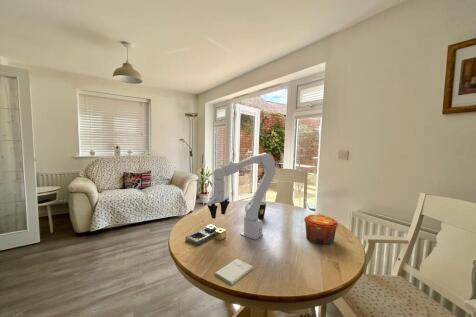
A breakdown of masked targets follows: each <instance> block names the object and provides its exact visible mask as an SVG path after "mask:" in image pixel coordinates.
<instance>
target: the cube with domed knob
mask: <svg viewBox="0 0 476 317" xmlns="http://www.w3.org/2000/svg"><path fill="white" fill-rule="evenodd" d="M216 227H217V226H216V225H214V224H209V225H206V226H205V227H204V228H205V231H206V232H209V233H213V232H215V230H216Z"/></svg>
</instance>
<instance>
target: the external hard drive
mask: <svg viewBox="0 0 476 317" xmlns="http://www.w3.org/2000/svg"><path fill="white" fill-rule="evenodd" d="M253 269H254V266H253V265H251V264H249V263H247V262H245V261H243V260H241V259H238V258H235V259H234V260H232V261H231V262H229V263H228V264H226V265H225V266H223V267H222V268H219V270H217V271H216V272H214V276H216V277H218V278H219V279H220V280H222V281H224V282H226V283H227V284H230V285H231V286H232V285H234V284H236V282H238V280H240V279H242V278H243V277H244V276H246V275H247V274H248V273H250V271H252V270H253Z"/></svg>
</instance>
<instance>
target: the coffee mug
mask: <svg viewBox="0 0 476 317" xmlns="http://www.w3.org/2000/svg"><path fill="white" fill-rule="evenodd" d="M266 208H267V202H265V201H263V200H262V201H261V203H260V208H259V211H258V219H259V220H261V221H262V220H264V218H265V214H266V213H265V212H266Z"/></svg>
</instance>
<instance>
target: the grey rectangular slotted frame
mask: <svg viewBox="0 0 476 317" xmlns="http://www.w3.org/2000/svg"><path fill="white" fill-rule="evenodd" d="M219 228H220V227H217V226H216V230H217V229H219ZM197 237H200V238H199V239H197ZM213 238H215V232H213V233H209V232H206V231H205V227H204V228H202V229H200V230H197V231H196V232H193V233H190V234H189V235H186V236H185V241H186V242H188V243H190V244H192V245H195V246H200V245H201V244H204V243H205V242H208V241H209V240H211V239H213Z"/></svg>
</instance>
